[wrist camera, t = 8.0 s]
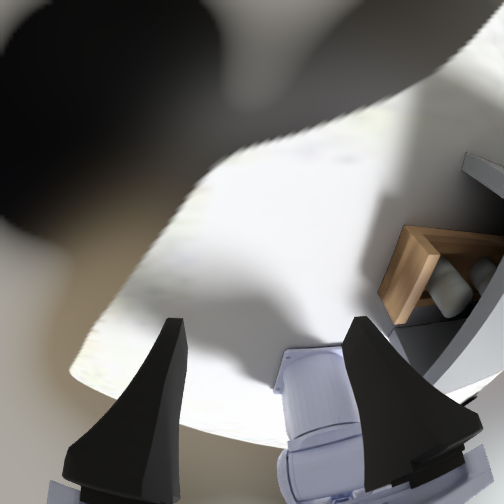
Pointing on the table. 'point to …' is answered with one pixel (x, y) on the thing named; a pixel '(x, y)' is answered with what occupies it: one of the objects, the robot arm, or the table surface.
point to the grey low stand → (462, 321)
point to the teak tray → (425, 261)
